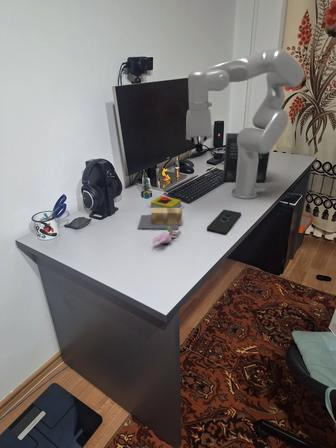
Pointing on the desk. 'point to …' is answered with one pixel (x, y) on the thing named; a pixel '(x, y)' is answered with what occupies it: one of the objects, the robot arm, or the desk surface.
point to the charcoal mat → (147, 224)
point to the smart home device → (224, 222)
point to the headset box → (232, 160)
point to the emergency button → (166, 203)
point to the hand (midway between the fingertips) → (199, 152)
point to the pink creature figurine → (166, 236)
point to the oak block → (166, 216)
